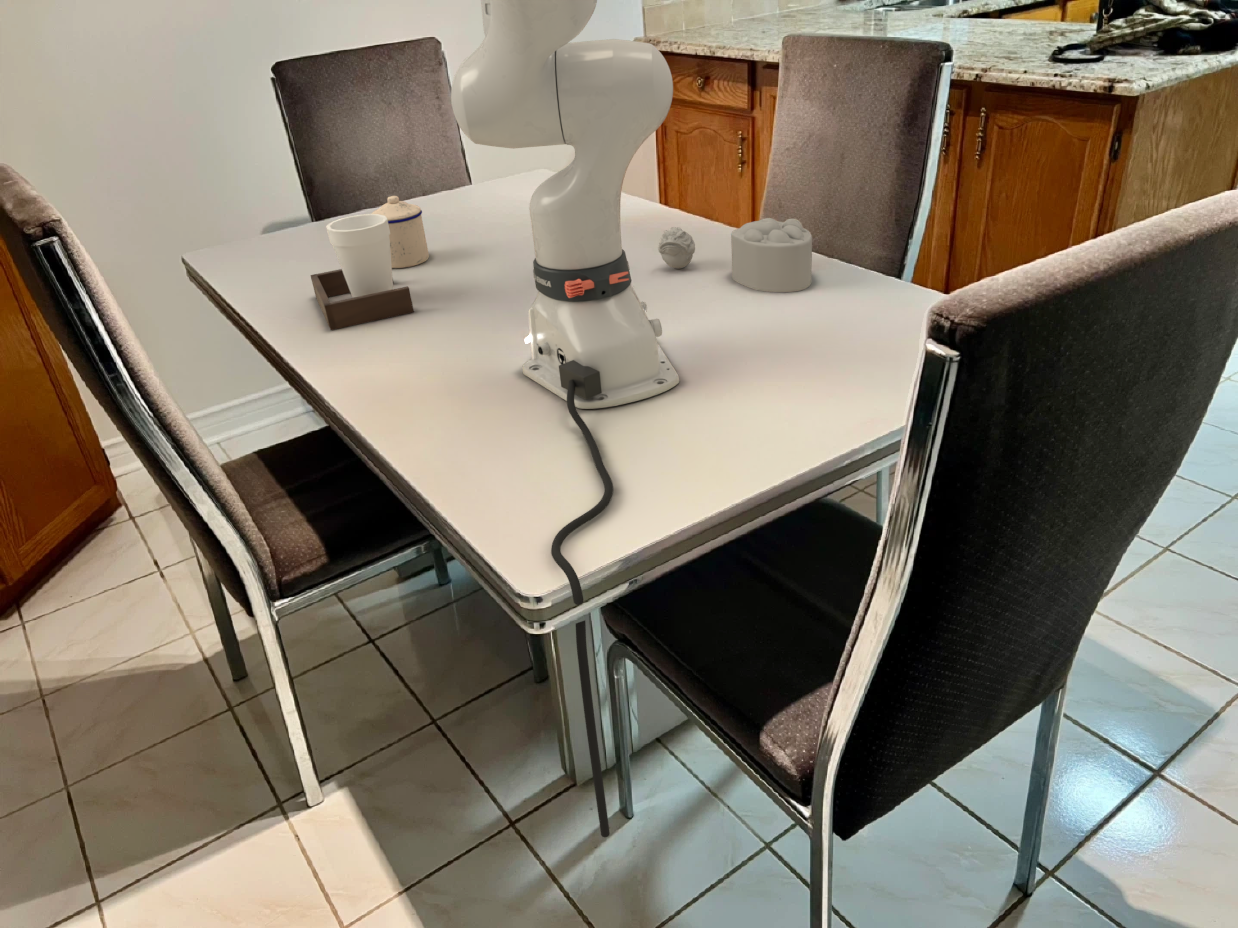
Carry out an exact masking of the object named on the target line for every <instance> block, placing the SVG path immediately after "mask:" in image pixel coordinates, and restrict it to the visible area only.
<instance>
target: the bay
mask: <svg viewBox="0 0 1238 928" xmlns="http://www.w3.org/2000/svg"><path fill="white" fill-rule="evenodd" d="M392 278H393V276H392ZM393 279H394V278H393ZM310 280H311V283H312V287H313V291H314V295H315V298H316V301H317V303H318V305H319V307H320V310H321V312H322V314H323V316H324V319H325V322H326V323H327V326H328V329H330V331H334V330H339V329H344V328H347V327H352V326H353V327H354V326H357V325H361V324H362V325H363V324H367V323H370V322H377V321H380V320H385V319H388V318H389V319H390V318H393V317H398V316H403V315H407V314H412V313H414V312H415V311H414V310H415V309H414V305H413V301H412V296H411V290H410V287H409V285H408V286H403V287H398V288H393V289H392V290H388V291H383V292H378V293H373V294H368V295H364V296H359V297H354V298H352V297H350V298H345V299H340V300H336V301H335V300H334V301H330V299H329V298H330V297H336V296H340V295H345V294H351V292H350V290H349V287H348V285H347V282H346V279H345V277H344V274H343V271H342V269H341V268H339V269H335V270H330V271H323V272H319V273H314V274H310ZM394 284H395V282H394V281H393V285H394Z"/></svg>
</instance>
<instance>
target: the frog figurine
mask: <svg viewBox="0 0 1238 928" xmlns="http://www.w3.org/2000/svg"><path fill="white" fill-rule="evenodd" d="M657 250H658V253H660V255H661V259H662V260H663V261H664V263H665V264H666V265H667V266H669V267H670V268H672V269H683V268H685V267H687V266H688V265H689V264H690V263H691V261H692V259H693V257H694V256H693V255H694V253H695V251H696V243H695V240H694V239H693V236H692V235H691V234H690V233H689V232H687V231H686V230H683V229H682V228H681V227H678V226H677V227H675V226H673V227H672V226H671V227H670V228H669V229H668V230H663V234H662V235H661V237H660V239H659V241H658V246H657Z"/></svg>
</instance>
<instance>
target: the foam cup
mask: <svg viewBox="0 0 1238 928" xmlns="http://www.w3.org/2000/svg"><path fill="white" fill-rule="evenodd" d="M325 228H326V232H327V236H328V240H329V243H330V245H332V247H333V251H334V253H335V255H336V258H337V261H338V264H339V266H340V269H342V271H343V274H344V277H345V279H346V282H347V285H348V287H349V290H350V292H351V293H350V295H351V298H354V297H359V296H364V295H368V294H373V293H378V292H383V291H388V290H392V289H394V284H393V282H394V278H392V277H393V268H392V265H391V252H390V239H389V234H390V229H389V225H388V220H387V218H386V216H384V215H379V214H372V213H365V214H356V215H351V216H345V217H342V218H338V219H336V220H333V221H330V222H329V223H328V224H326V226H325Z"/></svg>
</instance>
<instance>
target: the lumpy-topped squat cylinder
mask: <svg viewBox="0 0 1238 928" xmlns="http://www.w3.org/2000/svg"><path fill="white" fill-rule="evenodd" d="M730 234H731V236H730V240H731V241H730V242H731V243H730V244H731V245H730V246H731V247H730V248H731V278H732V280H733V281H734V282H736V283H738V284H740V285H741V286H744V287H747V288H749V289H751V290H756V291H758V292H759V291H760V292H770V293H794V292H800V291H803V290H806V289H808V288H809V287H810V286H811V284H812V272H813V271H812V269H813V265H812V264H813V235H812V234H811V232H810V230H809V229H806V228H804V227H803V224H802V222H801V221H800V220H798V219H797V218H788V219H786V220H785V221H777V220H776V219H774V218H773V217H765V218H762V219H760V220H755V221H751V222H746V223H744V224H743V225H742V226H740V227H739V228H736V229H734V230H733V231H731V233H730Z"/></svg>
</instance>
